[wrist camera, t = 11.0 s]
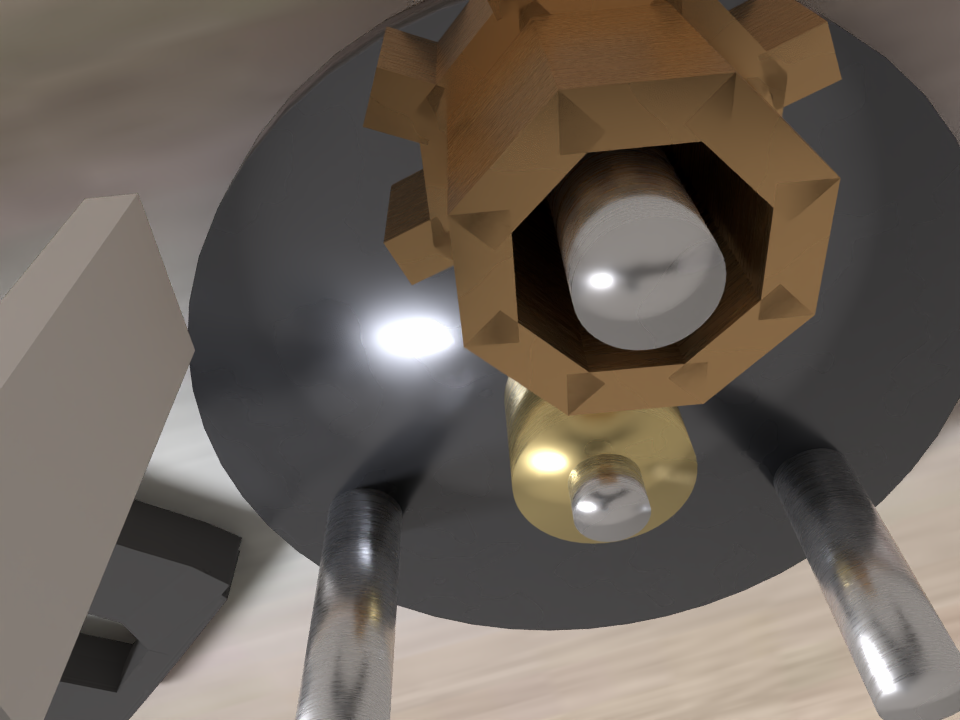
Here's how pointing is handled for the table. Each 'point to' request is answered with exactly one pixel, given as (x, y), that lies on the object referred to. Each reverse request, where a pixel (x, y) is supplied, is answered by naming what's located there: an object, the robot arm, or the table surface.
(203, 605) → the pistol
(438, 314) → the carrier
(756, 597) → the table surface
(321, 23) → the table surface
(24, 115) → the table surface
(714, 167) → the planet gear
